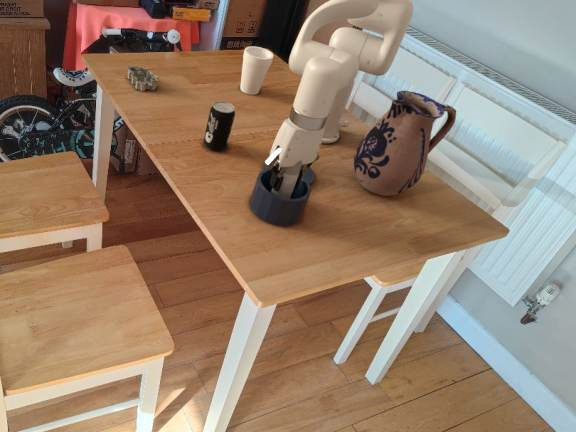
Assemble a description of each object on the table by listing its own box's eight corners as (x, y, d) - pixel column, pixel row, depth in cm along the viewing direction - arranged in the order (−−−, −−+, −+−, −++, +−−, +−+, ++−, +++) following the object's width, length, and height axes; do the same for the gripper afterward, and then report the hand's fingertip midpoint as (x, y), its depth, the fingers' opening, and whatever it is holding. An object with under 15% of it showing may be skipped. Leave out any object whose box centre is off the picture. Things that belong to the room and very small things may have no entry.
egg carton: (158, 91, 159) (160, 78, 156) (135, 92, 156) (137, 79, 153) (147, 75, 166) (148, 63, 163) (125, 75, 163) (126, 63, 160)
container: (271, 197, 125) (289, 146, 116) (288, 206, 124) (308, 154, 114) (263, 207, 122) (281, 154, 112) (281, 215, 121) (300, 163, 111)
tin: (282, 188, 130) (291, 164, 125) (311, 220, 122) (321, 196, 117) (240, 196, 125) (247, 171, 120) (267, 230, 116) (276, 204, 112)
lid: (294, 155, 143) (301, 137, 139) (323, 184, 134) (331, 165, 131) (253, 161, 137) (259, 142, 133) (281, 192, 129) (288, 172, 125)
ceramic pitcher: (332, 168, 142) (367, 85, 126) (392, 163, 149) (433, 84, 133) (369, 209, 130) (412, 122, 114) (432, 201, 137) (481, 120, 121)
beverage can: (224, 154, 138) (234, 115, 130) (200, 148, 138) (209, 108, 130) (228, 142, 143) (238, 104, 135) (205, 136, 143) (213, 97, 135)
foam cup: (245, 80, 175) (254, 44, 167) (268, 91, 172) (278, 54, 164) (230, 88, 169) (239, 50, 160) (253, 99, 165) (264, 61, 157)
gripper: (328, 105, 113) (303, 172, 125) (265, 111, 106) (244, 181, 118) (349, 123, 109) (321, 190, 120) (284, 130, 101) (261, 201, 113)
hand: (283, 185), depth 119 cm, fingers closed on container, 4 cm apart
